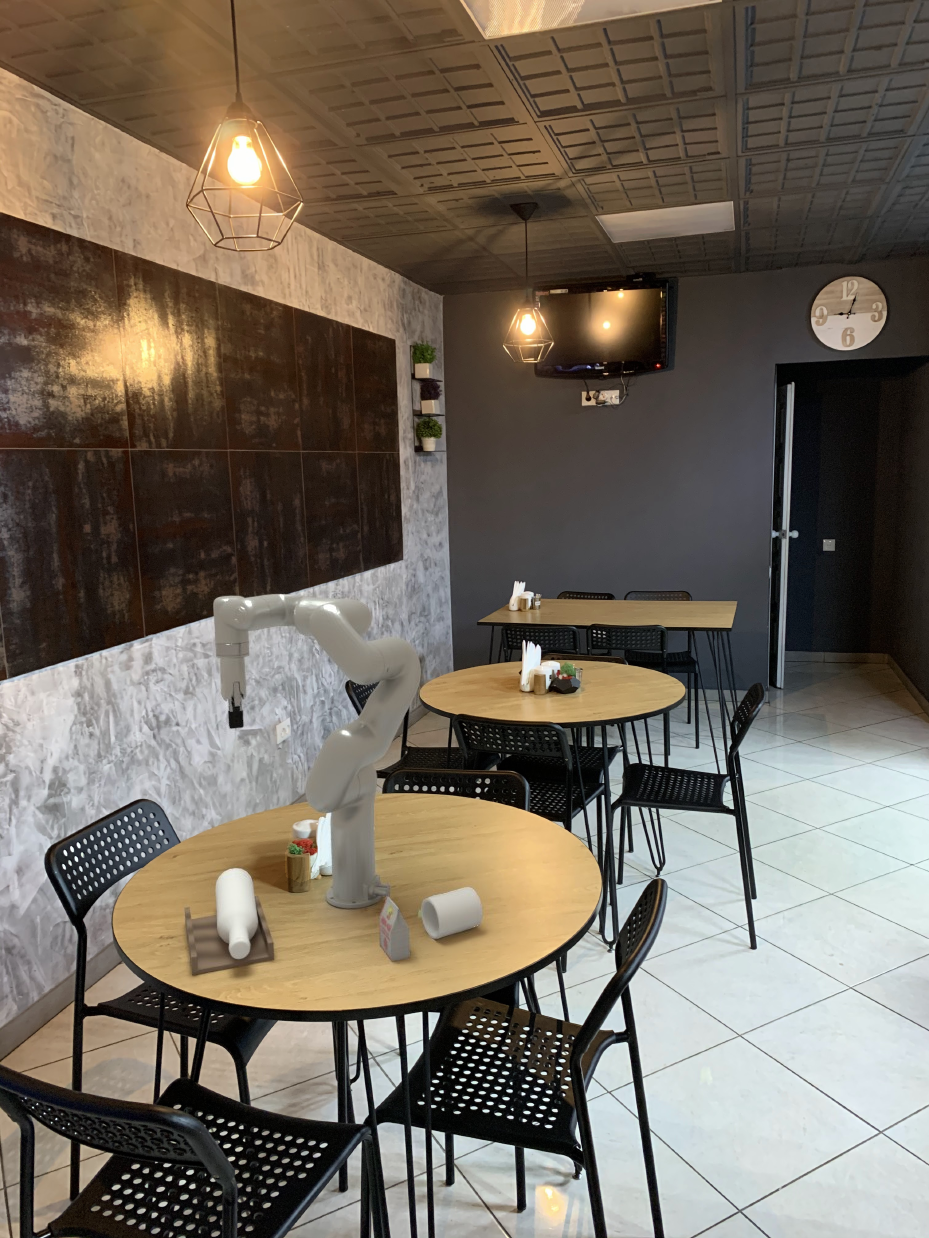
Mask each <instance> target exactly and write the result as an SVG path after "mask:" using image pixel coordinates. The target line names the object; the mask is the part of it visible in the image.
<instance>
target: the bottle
mask: <svg viewBox="0 0 929 1238" xmlns="http://www.w3.org/2000/svg"><path fill="white" fill-rule="evenodd" d="M254 888H255V885H254V882H253V879H252V876H251V875H250V874H249V873H248V871H246V870H245V869H243V868H237V867H234V868H229V869H227V870H225V871H223V872H222V873H221V874H220V875H219V876H218V878H217V880H216V881H215V892H214V893H215V906H216V915H217V930H218V933H219V936H220V937H221V938H222V939H223V940H224V941H225V942H226V943H228V944H229V951H230V954H231V956H232V957H233V958H235V959H242V958H244V957H246V956H247V955H248V953H249V951H250V941H249V940H250V939H251V938H252V937H253V936H254V934H255V932H256V930H257V927H258V918H257V910H256V903H255V896H256V895H255V890H254Z"/></svg>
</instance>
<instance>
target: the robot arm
mask: <svg viewBox="0 0 929 1238" xmlns="http://www.w3.org/2000/svg"><path fill="white" fill-rule="evenodd" d="M212 605H213V622H214V623H213V624H214V625H213V627H214V642H215V648H214V649H215V658H217V659H220V662H219V663H220V664H219V666H220V667H219V670H220V671H219V673H220V695H221V698H222V699H223V701H225V702H228V703H227V704H228V711H227V712H228V713H227V714H228V715H227V716H228V728H229V729H231V730H233V729H241V728H244V727H245V726H244V710H243V700H245V699H246V697H247V679H246V678H247V677H246V660H245V659H246V658H247V657H249V656H250V642H249V641H250V640H249V638H250V637H249V632H253V631H260V630H264V629H269V628H275V627H291V628H295V629H296V631H297V632H298V633H299V634H301V635H302V636H307V637H313V638H314V640H315V641H316V642H317V643H318V645H319V647H321V649H323V651H324V652H325V654H326V655H327V656H328V657H329V658H330V659H331V660H332V661H333V663H334V664H335V665H336V666H337V668H339V670H340V672H342V673H343V674H344V675H345V677H347V678H348V679H349V680H350V681H351V682H353V683H355V684H358V685H361V686H368V685H372V684H375V683H378V682H379V683H378V684H377V686H376V687H375V688H374V690H372V692H371V693H370V695H369V697H368V698H367V700H366V703H365V704H364V707H363V709H362V711H361V712H360V714H359V716H358V717H357V718H356V719H355V720H354V721H352V722H350V723H348V724H345V725H343V726H341V727H338V728H337V729H335V730H334V731H332V732H331V733H330V734H329V735H328V736H327V738H326V739H325V741H324V742H323V744H322V745H321V748H320V749H319V753H318V754H317V757H316V758H315V761H314V763H313V765H312V768H311V769H310V771H309V774H308V775H307V779H306V782H305V789H304V792H305V797H306V801H307V803H308V805H309V806H310V808H311V809H313V810H314V811H316V812H318V813H321V814H330V824H329V825H330V848H331V849H330V853H331V877H332V881H331V882H332V885H331V886H330V887H329V888H328V889H327V890H326V892H325V899H326V902H327V903H328V904H330V905H331V906H333V907H337V908H341V909H360V908H365V907H369V906H372V905H373V904H377V903H378V902H379V901H380V900H382V898H386V896H387V897H388V896H389V897H390V895H391V884H389V883H382V881H381V875H379V874H376V851H375V850H376V846H375V801H376V794H377V785H378V774H377V771H376V768H375V766H374V764H375V762H377V761H379V760H381V759H382V758H383V757H385V755H386V754H387V752H388V750H389V748H390V746H391V744H392V743H393V740H394V739H395V736H396V734H397V733H398V730H399V728H400V727H401V724H402V723H403V720H404V718H405V716H406V713H407V712H408V710H409V708H410V706H411V704H412V702H413V700H414V698H415V696H416V694H417V692H418V689H419V686H420V682H421V675H422V669H421V661H420V658H419V655H418V653H417V651H416V649H415V647H414V646H413V645H412V644H411V643H410V641H408V640H406V639H404V638H402V637H398V636H387V637H381V638H377V639H373V640H369V641H365V640H364V639H363V637H362V636H364V635H365V634H366V633H367V632H368V631H369V630H370V628H371V625H372V620H373V616H372V615H373V614H372V612H371V610H370V608H369V607H368V606H367V604H365V603H363V602H362V601H359V600H358V599H357V600H356V599H351V598H338V597H337V598H333V597H318V596H317V597H316V596H315V597H314V596H306V595H300V594H287V593H286V594H285V593H283V594H282V593H275V594H273V593H271V594H264V595H257V596H249V597H244V596H242V595H222V596H219V597H216V598H215V599H214V600H213V604H212ZM245 657H246V658H245Z"/></svg>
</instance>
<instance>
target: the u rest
mask: <svg viewBox="0 0 929 1238" xmlns="http://www.w3.org/2000/svg"><path fill="white" fill-rule="evenodd" d="M254 896H255V903H256V910H257V918H258V927H257V930H256V932H255V934H254V936H253V937H252V938H251V939H250V940H249V941H250V951H249V953H248V955H247V956H246V957H244V958H242V959H235V958H233V957H232V956H231V954H230V951H229V944H228V943H226V942H225V941H224V940H223V939H222V938H221V937H220V936H219V933H218V930H217V914H215V915H214V914H212V915H208V916H202V917H196V918H192V915H191V908H190V907H184V922H185V930H186V937H187V945H188V953H189V960H190V967H191V975H192V976H195V975H200V974H206V973H212V972H217V971H221V970H227V969H231V968H238V967H243V966H248V965H254V964H258V963H264V962H267V961H275V947H274V946H275V945H274V944H275V942H274V940H273V937H272V934H271V930H270V927H269V925H268V922H267V919H266V916H265V912H264V909H263V906H262V904H261V901H260V898H259V895H254Z"/></svg>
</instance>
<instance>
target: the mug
mask: <svg viewBox="0 0 929 1238" xmlns="http://www.w3.org/2000/svg"><path fill="white" fill-rule="evenodd" d="M481 901H482V900H481V899H480V897H479V895H478V893H477V891H476V890H475V889H474V888H472V887H471V886H464V887H461V888H458V889H454V890H451V891H448V892H444V893H439V894H434V895H431V896H429V897H426V898H425V899H423V900H422V902H421V908H420V913H421V914H420V915H421V921H422V924H423V927H424V930H425V932H426V933H427V935H428V936H429V937H430V938H432V939H434V940H438V939H441V938H444V937H447V936H450V935H454V934H457V933H460V932H463V931H467V930H470V929H473V928H477V927H479V926H480V925H481V924H482V921H483V913H484V912H483V907H482V906H483V905H482V902H481ZM477 925H478V926H477ZM474 926H475V927H474ZM471 927H472V928H471Z"/></svg>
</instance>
